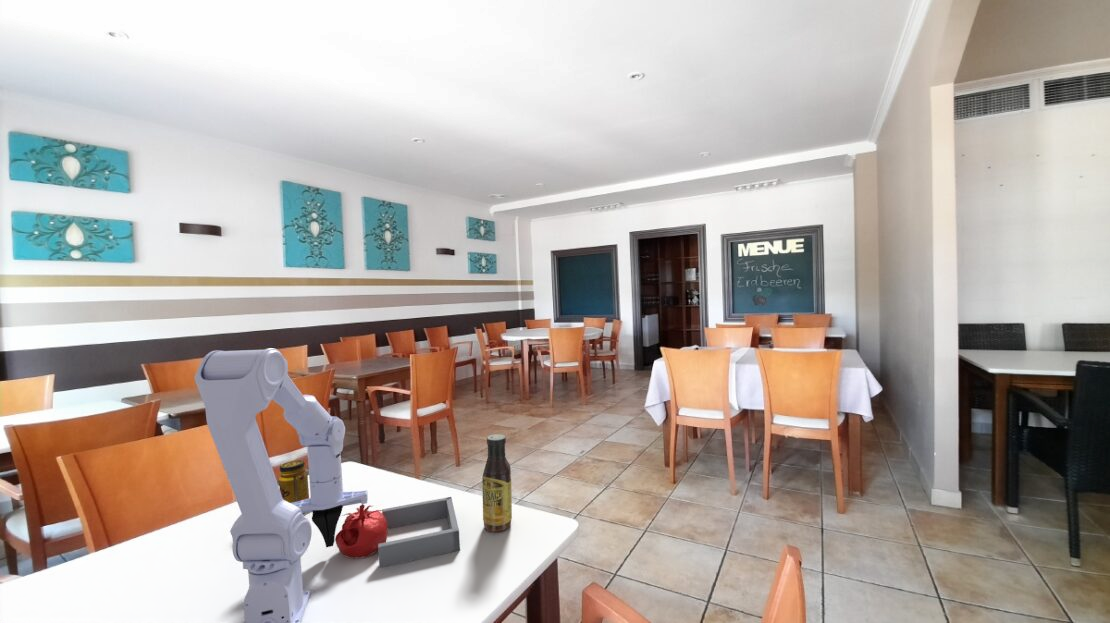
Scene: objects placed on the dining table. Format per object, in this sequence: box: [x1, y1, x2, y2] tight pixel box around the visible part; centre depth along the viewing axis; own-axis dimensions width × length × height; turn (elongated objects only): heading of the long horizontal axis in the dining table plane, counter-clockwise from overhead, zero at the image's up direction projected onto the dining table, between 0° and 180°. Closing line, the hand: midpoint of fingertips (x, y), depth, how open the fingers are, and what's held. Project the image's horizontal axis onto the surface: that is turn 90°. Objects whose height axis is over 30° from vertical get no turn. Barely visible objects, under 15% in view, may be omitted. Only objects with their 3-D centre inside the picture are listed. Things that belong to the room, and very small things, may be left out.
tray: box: [377, 496, 461, 569], centre depth 94 cm, size 16×15×4 cm
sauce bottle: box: [481, 433, 513, 533], centre depth 97 cm, size 7×6×20 cm
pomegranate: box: [334, 504, 389, 559], centre depth 91 cm, size 10×10×9 cm
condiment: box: [278, 459, 310, 517], centre depth 109 cm, size 7×8×12 cm
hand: (330, 544), depth 89 cm, fingers closed
